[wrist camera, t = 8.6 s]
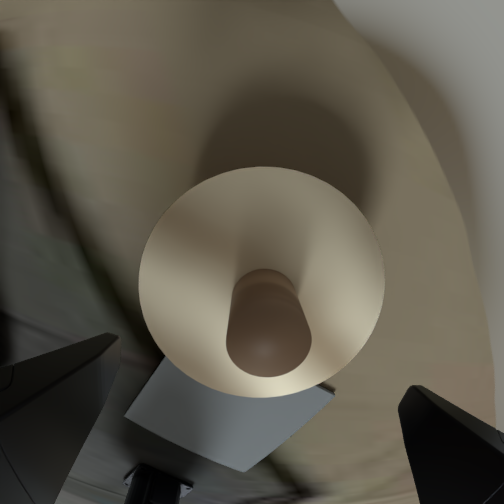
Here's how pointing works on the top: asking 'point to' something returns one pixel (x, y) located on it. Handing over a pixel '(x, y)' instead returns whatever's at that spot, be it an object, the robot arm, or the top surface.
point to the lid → (261, 282)
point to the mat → (221, 417)
